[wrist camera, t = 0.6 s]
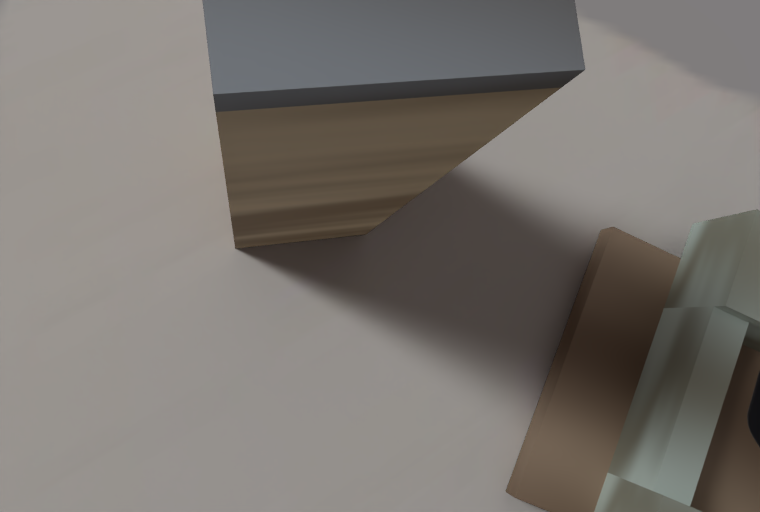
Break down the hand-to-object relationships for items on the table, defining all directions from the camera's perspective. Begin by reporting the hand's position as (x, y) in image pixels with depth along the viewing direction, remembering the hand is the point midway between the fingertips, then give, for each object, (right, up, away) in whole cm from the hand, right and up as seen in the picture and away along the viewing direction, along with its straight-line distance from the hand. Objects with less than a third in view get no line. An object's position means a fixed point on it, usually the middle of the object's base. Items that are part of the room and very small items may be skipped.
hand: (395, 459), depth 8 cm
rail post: (-3, +5, +14) cm, 15 cm away
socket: (+12, -4, +16) cm, 20 cm away
